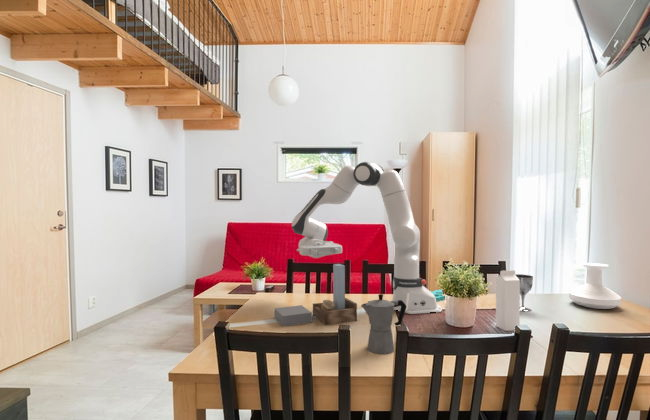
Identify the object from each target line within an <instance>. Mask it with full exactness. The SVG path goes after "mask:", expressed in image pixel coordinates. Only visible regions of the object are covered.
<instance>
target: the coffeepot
mask: <svg viewBox="0 0 650 420" xmlns="http://www.w3.org/2000/svg"><path fill="white" fill-rule="evenodd" d="M377 296H378V299H374V300H369V301H367V302H365V303H363V304H361V306H360V307H361V308H363V310H364V311H365V313H366V316H367V317H368V321H369V322H368V323H369V325H370V328H369V336H368V342H367V347H366V349H367V350H368V351H369V352H370V353H372V354H378V355H388V354H391V353H394V352H395V343H394V338H393V332H392V323H394V325H395V326H400V325H402V322H403V319H404V316H405V314H406V313H405V310H406V304H405V303H404V302H403V301H402V300H398V301H392V300H391V301H390V300H387V299H383V297H384V294H383V293H379V294H378V295H377ZM397 306H401V309H400V311H399V315H398V318H397V319H398V320H397V322H393V317H394V316H393V315H394V311H395V310H394V307H397Z"/></svg>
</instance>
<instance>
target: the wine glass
mask: <svg viewBox="0 0 650 420" xmlns="http://www.w3.org/2000/svg"><path fill="white" fill-rule="evenodd" d="M515 275H516V276H517V277H518V279H519V280H520V297H521V298H520V299H521V305H520V312H532V309H531V308H529V307H525V297H526V295H527V294H528V293H529V292H530V291H531V290H532V288H533V283H534V276H532V275H530V274H529V275H528V274H524V273H523V274H521V273H520V274H517V273H515Z"/></svg>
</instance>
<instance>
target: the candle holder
mask: <svg viewBox="0 0 650 420" xmlns="http://www.w3.org/2000/svg"><path fill="white" fill-rule="evenodd" d="M580 264H581V265H582V266H583V267H585V268H586V270H587V273H586V274H587V276H586V277H587V279H586V280H587V281H586V283H585V284H582V285H579V286H577V287H575V288H573V289H572V290H570V291H569V292H568V297H569V299H570V300H571V301H573V302H574V303H575V304H576V305H579V306H580V307H581V306H582V307H585V308H589V309H597V310H610V309H615V308H617V307H618V306H620V305H622V296H620V295H619V294H618V293H616V292H615V291H612V290H611V289H610V288H608V287H606V286H604V285H603V270H604V269H606V268H607V267H609V264H605V263H597V262H596V263H595V262H581V263H580Z"/></svg>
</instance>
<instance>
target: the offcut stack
mask: <svg viewBox="0 0 650 420" xmlns="http://www.w3.org/2000/svg"><path fill="white" fill-rule="evenodd" d="M322 303H323V305H321V310H323V311H324V312H325V311H333V310H334V302H332V300H330V299H324V300H322Z"/></svg>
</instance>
